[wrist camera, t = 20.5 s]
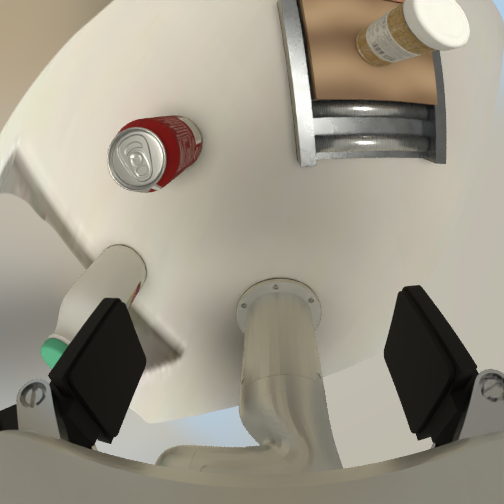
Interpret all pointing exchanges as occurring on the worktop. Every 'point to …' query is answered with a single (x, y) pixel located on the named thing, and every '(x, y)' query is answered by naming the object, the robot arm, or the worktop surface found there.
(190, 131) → the soda can
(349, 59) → the slab
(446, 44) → the sprinkles bottle
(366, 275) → the worktop surface
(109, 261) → the milk bottle
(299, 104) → the roller track
